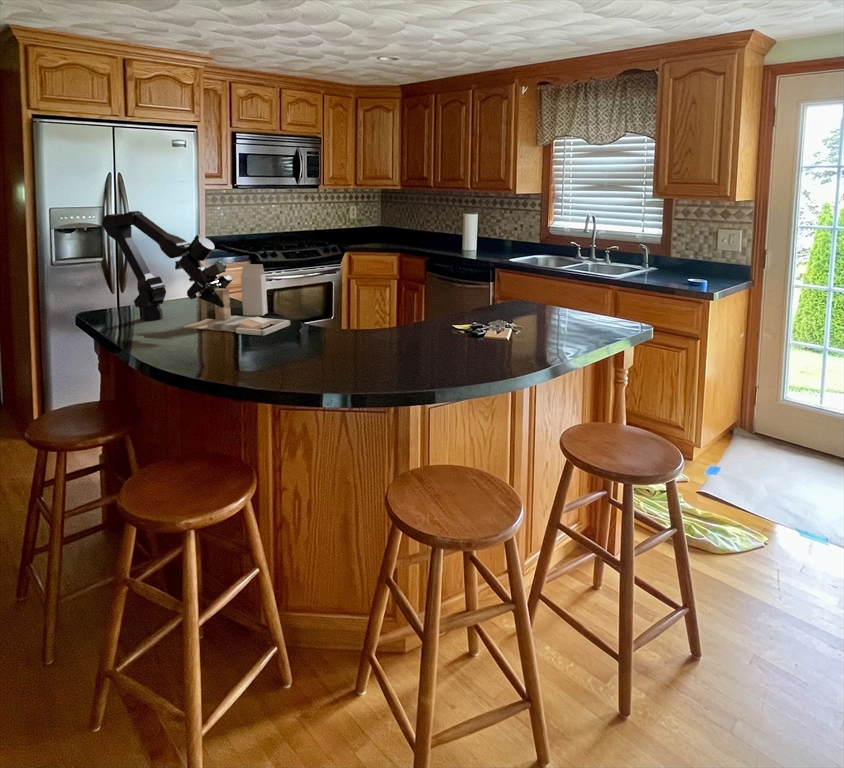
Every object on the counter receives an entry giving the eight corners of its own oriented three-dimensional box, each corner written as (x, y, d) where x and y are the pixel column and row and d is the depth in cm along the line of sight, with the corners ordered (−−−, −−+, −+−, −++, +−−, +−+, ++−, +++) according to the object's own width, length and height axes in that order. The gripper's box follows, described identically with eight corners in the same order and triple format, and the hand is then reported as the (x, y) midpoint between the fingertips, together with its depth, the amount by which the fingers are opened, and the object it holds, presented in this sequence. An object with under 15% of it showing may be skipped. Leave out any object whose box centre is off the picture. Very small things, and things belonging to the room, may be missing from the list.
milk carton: (263, 319, 266) (260, 265, 261) (243, 319, 266) (239, 265, 261) (267, 315, 273) (264, 263, 268) (248, 315, 273) (245, 262, 268)
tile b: (237, 330, 242) (238, 322, 241) (246, 327, 246) (247, 319, 245) (251, 334, 241) (252, 327, 240) (259, 331, 245) (260, 324, 244)
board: (182, 331, 247) (182, 326, 247) (208, 323, 260) (207, 318, 260) (237, 336, 241) (237, 331, 240) (261, 327, 253) (260, 323, 253)
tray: (236, 337, 239) (235, 328, 238) (264, 326, 255) (264, 318, 254) (263, 340, 236) (263, 330, 235) (290, 329, 251) (290, 320, 250)
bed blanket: (207, 328, 244) (204, 292, 241) (230, 321, 256) (227, 286, 253) (236, 331, 241) (233, 294, 238) (257, 323, 253) (255, 287, 249)
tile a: (248, 326, 247) (249, 319, 246) (256, 323, 252) (257, 316, 251) (261, 330, 246) (262, 323, 245) (269, 327, 251) (270, 320, 250)
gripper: (191, 257, 236) (224, 294, 235) (225, 250, 253) (256, 285, 252) (172, 280, 241) (204, 317, 240) (207, 272, 257) (237, 306, 257)
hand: (226, 305), depth 247 cm, fingers closed on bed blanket, 3 cm apart
